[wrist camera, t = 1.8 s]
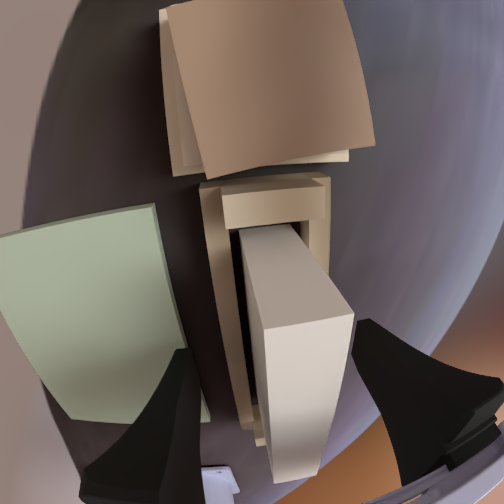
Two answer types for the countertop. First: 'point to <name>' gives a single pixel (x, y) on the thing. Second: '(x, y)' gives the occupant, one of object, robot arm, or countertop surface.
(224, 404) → the countertop surface
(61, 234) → the sage mat
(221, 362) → the countertop surface
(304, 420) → the cream rectangular block
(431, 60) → the countertop surface
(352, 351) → the robot arm
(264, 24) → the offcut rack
